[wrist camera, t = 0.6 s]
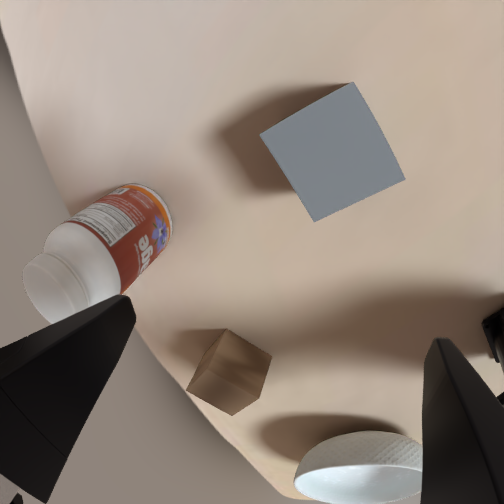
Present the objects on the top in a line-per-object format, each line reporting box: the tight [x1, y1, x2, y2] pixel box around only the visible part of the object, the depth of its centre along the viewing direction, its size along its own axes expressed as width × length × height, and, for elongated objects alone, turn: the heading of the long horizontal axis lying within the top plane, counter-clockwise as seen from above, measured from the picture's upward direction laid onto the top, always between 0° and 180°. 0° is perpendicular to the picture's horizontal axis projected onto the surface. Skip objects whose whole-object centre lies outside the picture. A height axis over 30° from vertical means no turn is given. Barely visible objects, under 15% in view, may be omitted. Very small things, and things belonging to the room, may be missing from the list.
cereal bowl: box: [294, 430, 423, 504], centre depth 30 cm, size 17×17×7 cm
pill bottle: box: [22, 184, 172, 324], centre depth 20 cm, size 6×6×11 cm
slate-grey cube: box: [259, 82, 405, 222], centre depth 16 cm, size 5×5×5 cm
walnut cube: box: [186, 329, 272, 416], centre depth 27 cm, size 5×5×5 cm
